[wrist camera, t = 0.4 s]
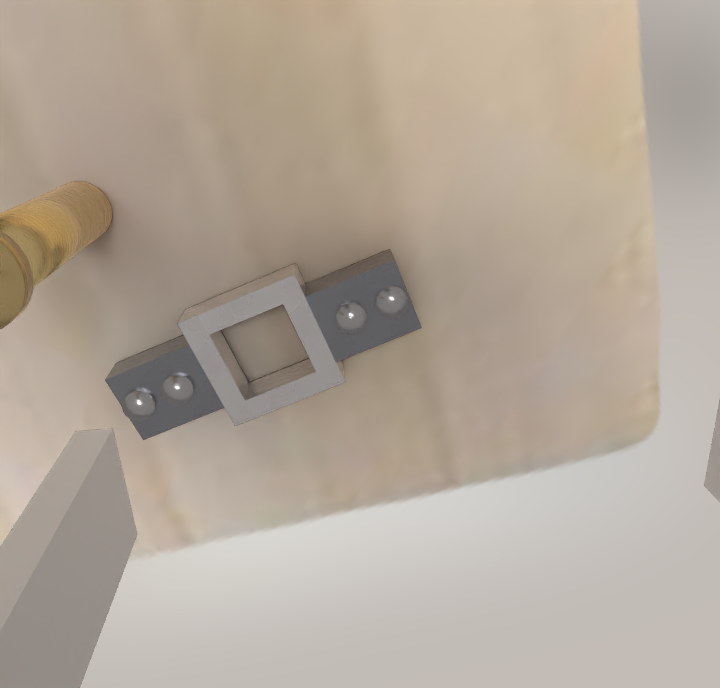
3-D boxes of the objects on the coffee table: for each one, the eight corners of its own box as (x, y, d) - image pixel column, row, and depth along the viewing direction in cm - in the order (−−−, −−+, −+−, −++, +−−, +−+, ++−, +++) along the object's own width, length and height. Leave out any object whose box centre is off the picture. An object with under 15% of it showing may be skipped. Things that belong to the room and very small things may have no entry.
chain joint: (163, 437, 42) (153, 461, 39) (104, 343, 39) (90, 362, 37) (423, 333, 40) (430, 350, 38) (380, 227, 38) (385, 238, 35)
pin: (27, 190, 36) (-125, 252, 23) (95, 159, 35) (-22, 206, 23) (69, 259, 37) (-53, 352, 25) (135, 230, 37) (45, 310, 24)
